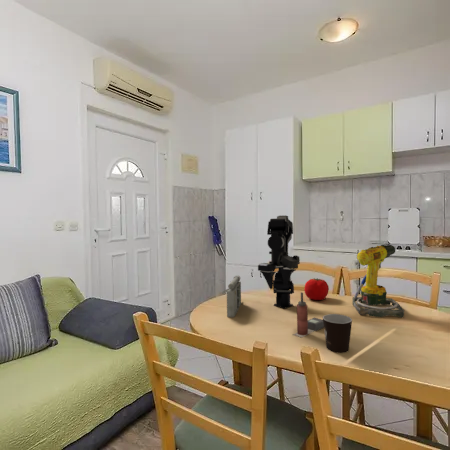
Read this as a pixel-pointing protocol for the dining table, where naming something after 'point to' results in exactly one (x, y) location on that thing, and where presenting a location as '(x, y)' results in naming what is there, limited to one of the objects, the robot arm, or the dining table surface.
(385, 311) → the cordless drill
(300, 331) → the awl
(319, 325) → the finder
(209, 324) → the dining table surface
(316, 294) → the tomato
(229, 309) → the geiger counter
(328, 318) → the coffee mug
